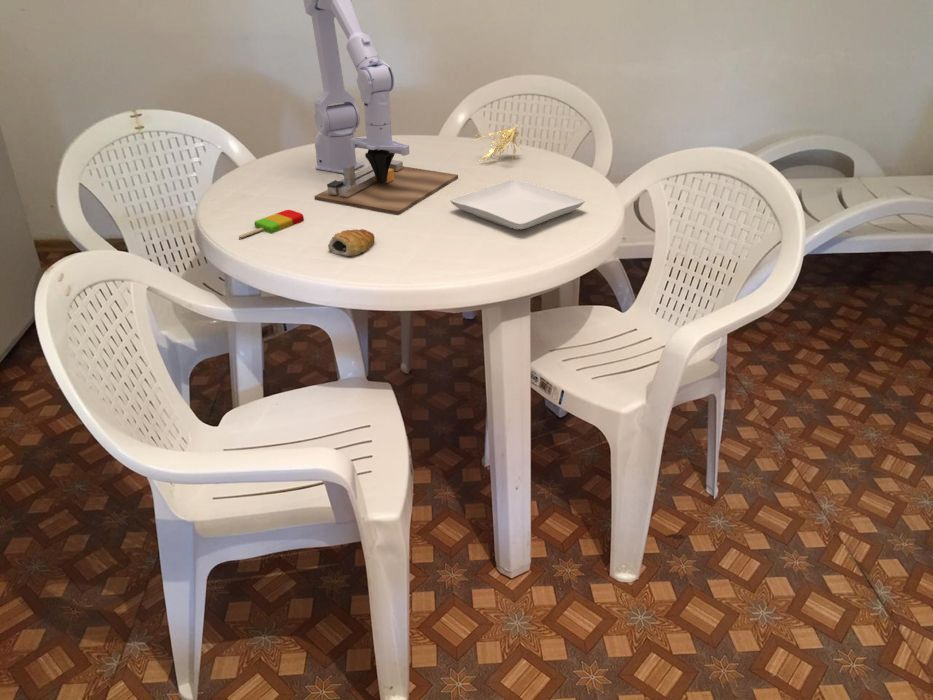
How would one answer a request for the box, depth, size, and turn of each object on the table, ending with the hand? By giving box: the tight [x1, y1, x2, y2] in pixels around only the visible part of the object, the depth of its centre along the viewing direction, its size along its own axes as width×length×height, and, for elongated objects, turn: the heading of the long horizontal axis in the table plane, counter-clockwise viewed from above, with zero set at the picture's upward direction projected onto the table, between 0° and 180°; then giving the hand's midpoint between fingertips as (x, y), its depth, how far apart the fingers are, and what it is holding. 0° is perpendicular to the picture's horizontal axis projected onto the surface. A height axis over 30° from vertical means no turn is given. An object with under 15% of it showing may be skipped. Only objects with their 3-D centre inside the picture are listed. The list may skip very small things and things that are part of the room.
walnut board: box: [313, 165, 459, 216], centre depth 169 cm, size 28×22×1 cm
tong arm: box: [339, 165, 390, 197], centre depth 167 cm, size 18×2×6 cm, turn 153°
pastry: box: [327, 228, 375, 257], centre depth 139 cm, size 9×7×4 cm
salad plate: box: [450, 178, 586, 230], centre depth 155 cm, size 21×21×3 cm
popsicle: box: [238, 209, 305, 239], centre depth 148 cm, size 6×15×2 cm, turn 142°
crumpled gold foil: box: [471, 125, 523, 163], centre depth 186 cm, size 11×15×9 cm
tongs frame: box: [326, 159, 404, 195], centre depth 171 cm, size 24×5×2 cm, turn 153°
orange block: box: [386, 169, 394, 183], centre depth 170 cm, size 3×2×2 cm
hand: (381, 181), depth 168 cm, fingers closed
